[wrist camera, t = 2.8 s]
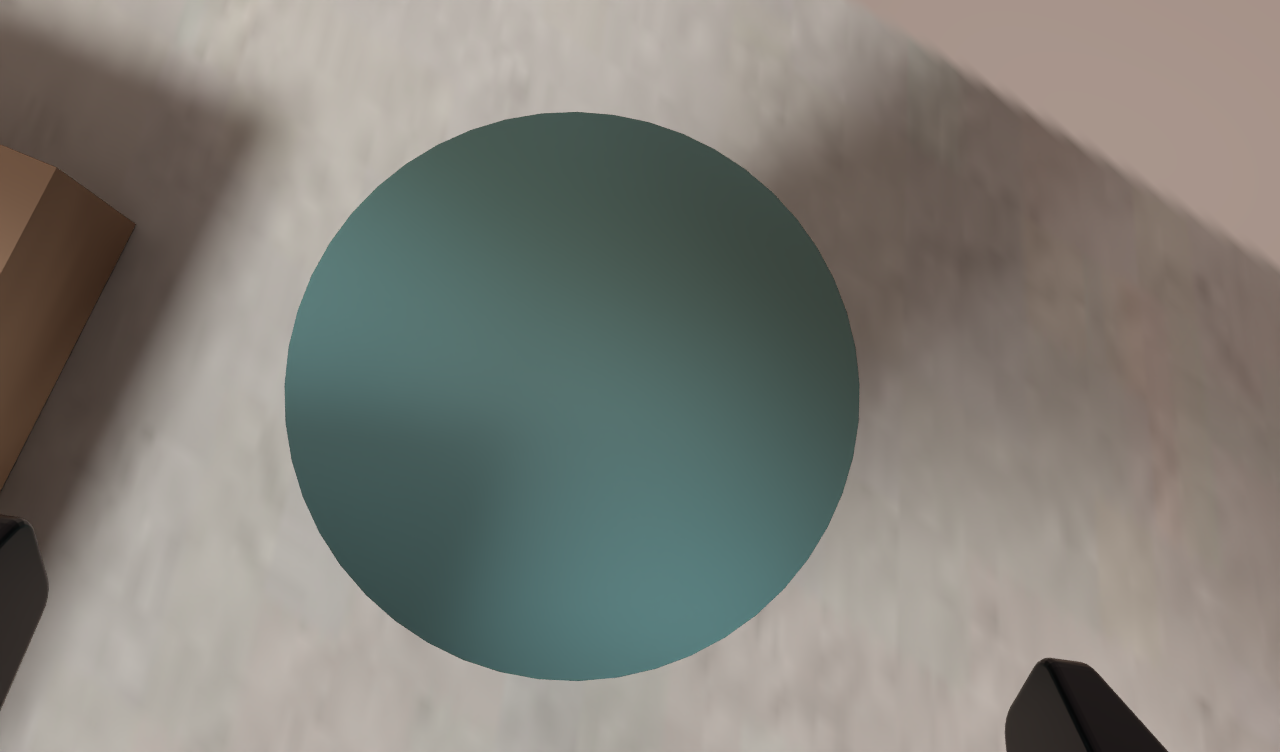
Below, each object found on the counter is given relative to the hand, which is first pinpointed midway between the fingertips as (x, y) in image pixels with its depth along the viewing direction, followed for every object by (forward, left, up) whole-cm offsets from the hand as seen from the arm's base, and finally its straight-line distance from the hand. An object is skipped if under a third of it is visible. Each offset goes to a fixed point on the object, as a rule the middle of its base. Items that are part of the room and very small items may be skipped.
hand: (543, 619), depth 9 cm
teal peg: (+2, 0, -9) cm, 10 cm away
